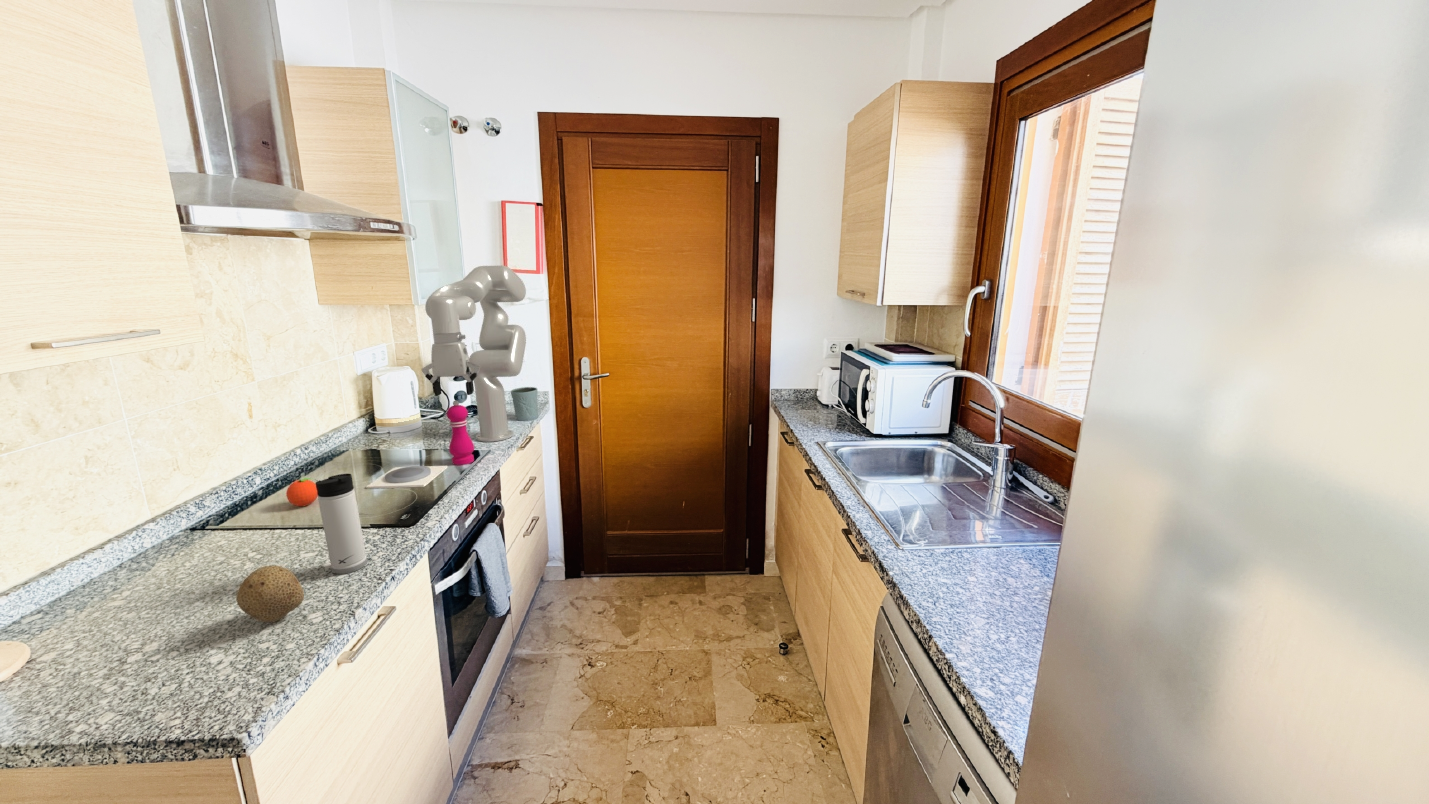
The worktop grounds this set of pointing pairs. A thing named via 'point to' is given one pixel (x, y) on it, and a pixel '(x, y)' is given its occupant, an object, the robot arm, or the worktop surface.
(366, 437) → the worktop surface
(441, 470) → the cream square board
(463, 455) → the pepper mill
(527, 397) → the green plant pot
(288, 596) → the brown potato
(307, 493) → the clementine
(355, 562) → the travel mug
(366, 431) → the worktop surface
